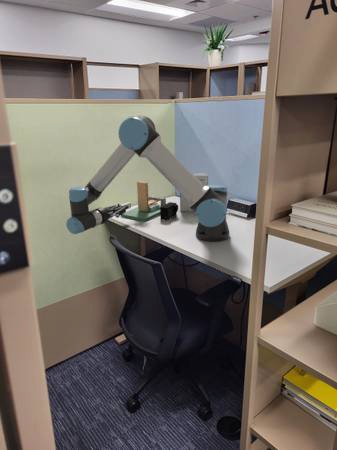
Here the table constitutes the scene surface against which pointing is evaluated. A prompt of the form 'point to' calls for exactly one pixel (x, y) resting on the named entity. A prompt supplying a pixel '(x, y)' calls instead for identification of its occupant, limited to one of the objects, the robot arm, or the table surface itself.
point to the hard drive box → (183, 201)
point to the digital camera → (168, 211)
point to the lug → (163, 200)
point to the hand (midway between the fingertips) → (129, 204)
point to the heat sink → (153, 207)
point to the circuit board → (141, 214)
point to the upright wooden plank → (144, 197)
